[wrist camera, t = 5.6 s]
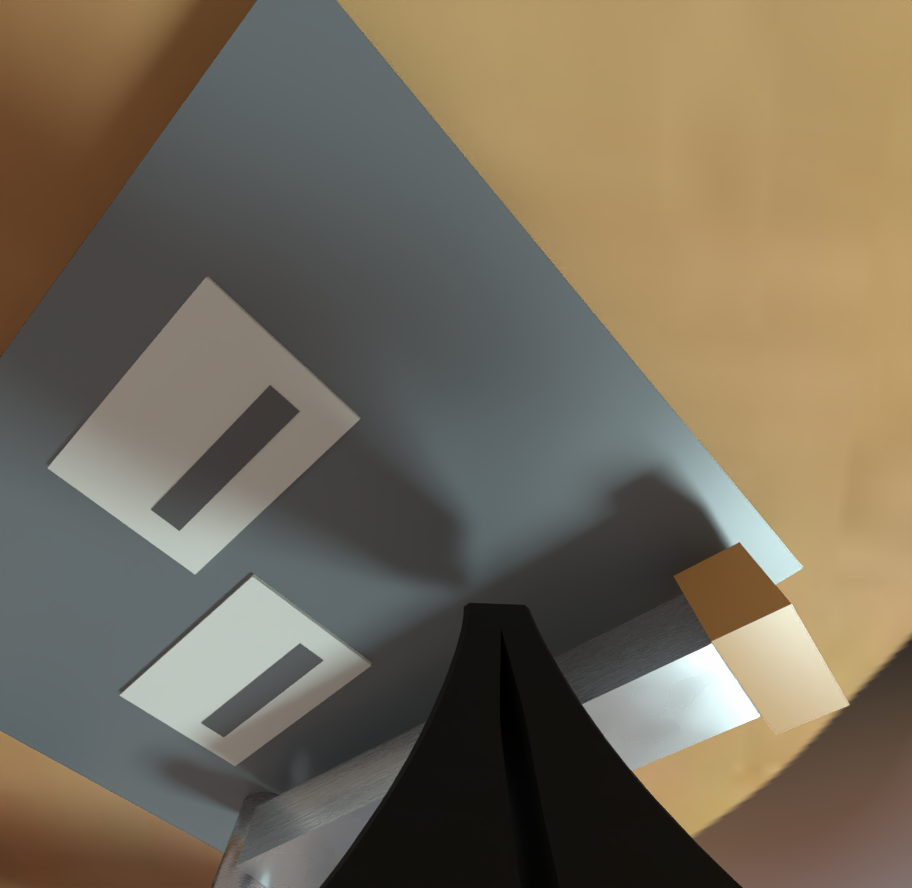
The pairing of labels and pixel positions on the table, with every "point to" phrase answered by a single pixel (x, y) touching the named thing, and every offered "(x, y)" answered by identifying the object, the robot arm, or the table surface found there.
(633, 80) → the table surface
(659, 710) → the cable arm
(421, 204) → the label panel
